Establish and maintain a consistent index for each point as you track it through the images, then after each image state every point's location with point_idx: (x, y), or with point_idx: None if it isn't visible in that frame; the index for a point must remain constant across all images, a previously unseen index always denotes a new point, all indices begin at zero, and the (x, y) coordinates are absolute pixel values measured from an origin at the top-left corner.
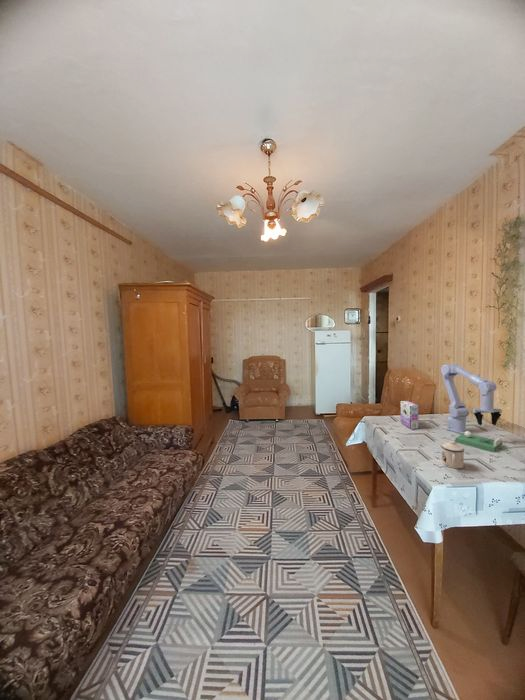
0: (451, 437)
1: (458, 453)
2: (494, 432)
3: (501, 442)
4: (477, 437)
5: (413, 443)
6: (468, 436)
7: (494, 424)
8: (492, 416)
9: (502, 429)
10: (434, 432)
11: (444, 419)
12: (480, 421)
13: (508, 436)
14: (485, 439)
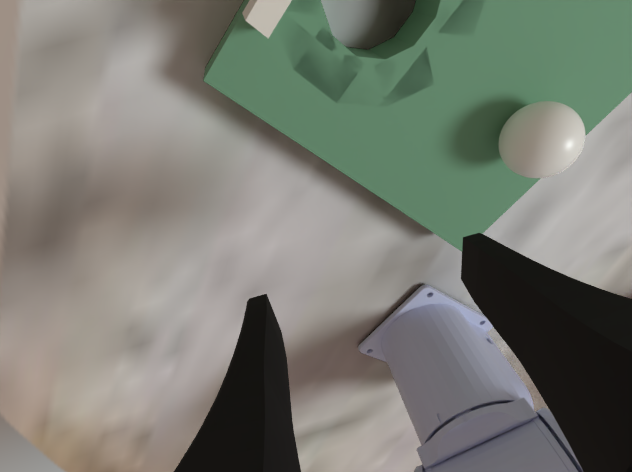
0: (566, 176)
1: None
2: (175, 382)
3: (220, 49)
4: (424, 148)
5: None
6: (547, 101)
7: (267, 304)
8: (294, 463)
9: (104, 447)
10: (610, 250)
11: (394, 465)
12: (536, 262)
13: (85, 340)
14: (373, 101)
